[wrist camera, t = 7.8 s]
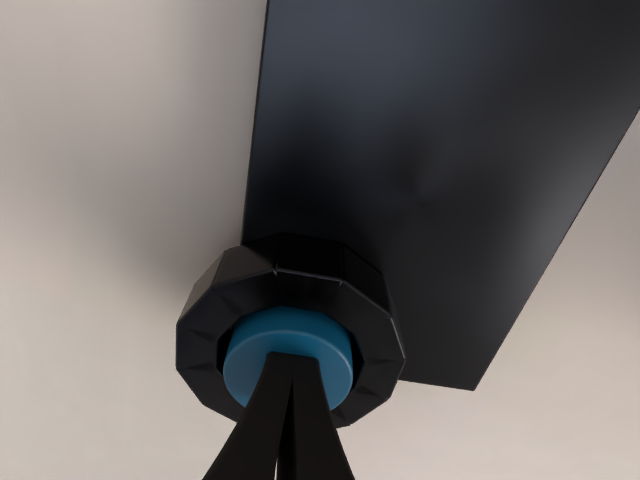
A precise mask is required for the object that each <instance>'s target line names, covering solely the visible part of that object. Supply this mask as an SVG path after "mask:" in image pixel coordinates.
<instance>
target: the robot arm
mask: <svg viewBox="0 0 640 480" xmlns="http://www.w3.org/2000/svg"><path fill="white" fill-rule="evenodd" d="M276 462H277V478H276V480H355V478H354V476H353V474H352V471H351V468H350V466H349V463H348V461H347V458H346V456H345V453H344V450H343V447H342V445H341V442H340V439H339V436H338V433H337V430H336V427H335V424H334V421H333V418H332V414H331V411H330V408H329V404H328V400H327V397H326V393H325V389H324V385H323V380H322V375H321V370H320V363H319V360H318V359H317V358H315V357H308V356H301V355H295V354H288V353H281V352H275V351H271V352H269V353H267V355H266V360H265V363H264V366H263V369H262V372H261V375H260V377H259V380H258V382H257V384H256V387H255V389H254V391H253V393H252V396H251V397H250V399H249V401H248V403H247V405H246V407H245V409H244V411H243V413H242V415H241V417H240V419H239V421H238V422H237V424H236V426H235V428H234V429H233V431H232V433H231V434H230V436H229V438H228V440H227V441H226V443H225V445H224V446H223V448H222V450H221V451H220V453H219V455H218V456H217V458H216V459H215V461H214V462H213V464H212V465H211V467H210V468H209V470H208V472H207V473H206V475H205V476H204V477H203V479H202V480H274V478H275V468H276Z"/></svg>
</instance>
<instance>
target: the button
mask: <svg viewBox="0 0 640 480" xmlns="http://www.w3.org/2000/svg"><path fill="white" fill-rule="evenodd" d="M271 351H275V352H281V353H288V354H295V355H301V356H308V357H315V358H317V359H318V360H319V363H320V370H321V375H322V380H323V385H324V389H325V393H326V397H327V400H328V404H329V408H330V411H331V410H332V409H334V408H336V407H337V406H338V405H339V404H340V403H341V402H342V401H343V400H344V399H345V398H346V396H347V395H348V393H349V391H350V389H351V386H352V382H353V367H352V352H351V337H350V331H349V330H347V329H346V328H344V327H343V326H341V325H340V324H338V323H337V322H335V321H334V320H332V319H331V318H329V317H328V316H326V315H325V314H324V313H320V312H314V311H308V310H302V309H296V308H289V307H283V306H279V307H275V308H271V309H268V310H264V311H260V312H256V313H252V314H248V315H245V316H242V317H241V318H240V319H239V320H238V321H237V322H236V323H235V326H234V330H233V333H232V337H231V340H230V344H229V347H228V351H227V354H226V358H225V361H224V366H223V377H224V381H225V384H226V387H227V389H228V391H229V392H230V394H231V395H232V396H233V397H234V398H235V399H236V400H237V401H238V402H239V403H240V404H241V405H243V406H244V407H246V405H247V403H248V401H249V399H250V397H251V396H252V393H253V391H254V389H255V387H256V384H257V382H258V380H259V377H260V375H261V372H262V369H263V366H264V363H265V360H266V355H267V353H269V352H271Z"/></svg>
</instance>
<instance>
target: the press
mask: <svg viewBox="0 0 640 480" xmlns="http://www.w3.org/2000/svg"><path fill="white" fill-rule="evenodd" d="M639 109H640V0H267V4H266V13H265V22H264V32H263V41H262V50H261V59H260V68H259V77H258V86H257V95H256V105H255V114H254V123H253V132H252V141H251V150H250V159H249V168H248V177H247V187H246V196H245V205H244V214H243V223H242V232H241V241H240V246H237V247H234V248H230V249H228V250H226V251H224V252H223V253H222V254H221V255H220V257H219V258H218V259H217V260H216V261H215V262H214V263H213V264H212V266H211V267H210V268H209V269H208V270H207V271H206V272H205V273H204V275H203V276H202V277H201V278H200V279H199V280H198V281H197V282H196V283H195V285H194V287H193V289H192V291H191V293H190V296H189V298H188V300H187V302H186V304H185V306H184V308H183V311H182V313H181V315H180V317H179V319H178V321H177V324H176V370H177V371H178V372H179V374H180V375H181V376H182V378H183V379H184V380H185V382H186V383H187V385H188V386H189V387H190V389H191V390H192V391H193V393H194V394H195V395H196V397H197V398H198V399H199V401H200V402H201V403H202V404H203V405H204V406H206V407H208V408H210V409H212V410H214V411H216V412H217V413H219V414H221V415H223V416H225V417H227V418H229V419H231V420H233V421H235V422H238V421H239V419H240V417H241V415H242V413H243V411H244V409H245V407H244V406H243V405H241V404H240V403H239V402H238V401H237V400H236V399H235V398H234V397H233V396H232V395H231V394H230V392H229V391H228V389H227V387H226V384H225V381H224V377H223V366H224V361H225V358H226V354H227V351H228V347H229V344H230V340H231V337H232V333H233V330H234V326H235V323H236V322H237V321H238V320H239V319H240V318H241V317H242V316H245V315H248V314H252V313H256V312H260V311H264V310H268V309H271V308H275V307H279V306H283V307H289V308H296V309H302V310H308V311H314V312H320V313H324V314H325V315H326V316H328V317H329V318H331V319H332V320H334V321H335V322H337V323H338V324H340V325H341V326H343V327H344V328H346V329H347V330H349V331H350V337H351V352H352V367H353V382H352V386H351V389H350V391H349V393H348V395H347V396H346V398H345V399H344V400H343V401H342V402H341V403H340V404H339V405H338V406H337V407H336V408H334V409H332V410H331V414H332V418H333V421H334V424H335V427H336V428H341V427H346V426H350V424H353V423H355V422H356V421H357V420H359V419H360V418H362V417H363V416H365V415H366V414H368V413H369V412H371V411H372V410H374V409H375V408H377V407H378V406H380V405H381V404H383V403H384V402H386V401H387V400H388V399H389V398H390V397H391V395H392V392H393V390H394V388H395V385H396V383H397V381H398V380H402V381H409V382H416V383H422V384H429V385H436V386H443V387H449V388H456V389H463V390H469V391H474V390H475V389H476V387H477V385H478V384H479V382H480V380H481V379H482V377H483V375H484V373H485V372H486V370H487V368H488V367H489V365H490V363H491V361H492V360H493V358H494V356H495V355H496V353H497V351H498V350H499V348H500V346H501V344H502V343H503V341H504V339H505V338H506V336H507V334H508V333H509V331H510V329H511V327H512V326H513V324H514V322H515V321H516V319H517V317H518V315H519V314H520V312H521V310H522V309H523V307H524V305H525V304H526V302H527V300H528V298H529V297H530V295H531V293H532V292H533V290H534V288H535V287H536V285H537V283H538V281H539V280H540V278H541V276H542V275H543V273H544V271H545V269H546V268H547V266H548V264H549V263H550V261H551V259H552V258H553V256H554V254H555V252H556V251H557V249H558V247H559V246H560V244H561V242H562V241H563V239H564V237H565V235H566V234H567V232H568V230H569V229H570V227H571V225H572V223H573V222H574V220H575V218H576V217H577V215H578V213H579V212H580V210H581V208H582V206H583V205H584V203H585V201H586V200H587V198H588V196H589V195H590V193H591V191H592V189H593V188H594V186H595V184H596V183H597V181H598V179H599V177H600V176H601V174H602V172H603V171H604V169H605V167H606V166H607V164H608V162H609V160H610V159H611V157H612V155H613V154H614V152H615V150H616V149H617V147H618V145H619V143H620V142H621V140H622V138H623V137H624V135H625V133H626V131H627V130H628V128H629V126H630V125H631V123H632V121H633V120H634V118H635V116H636V114H637V113H638V111H639Z"/></svg>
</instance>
